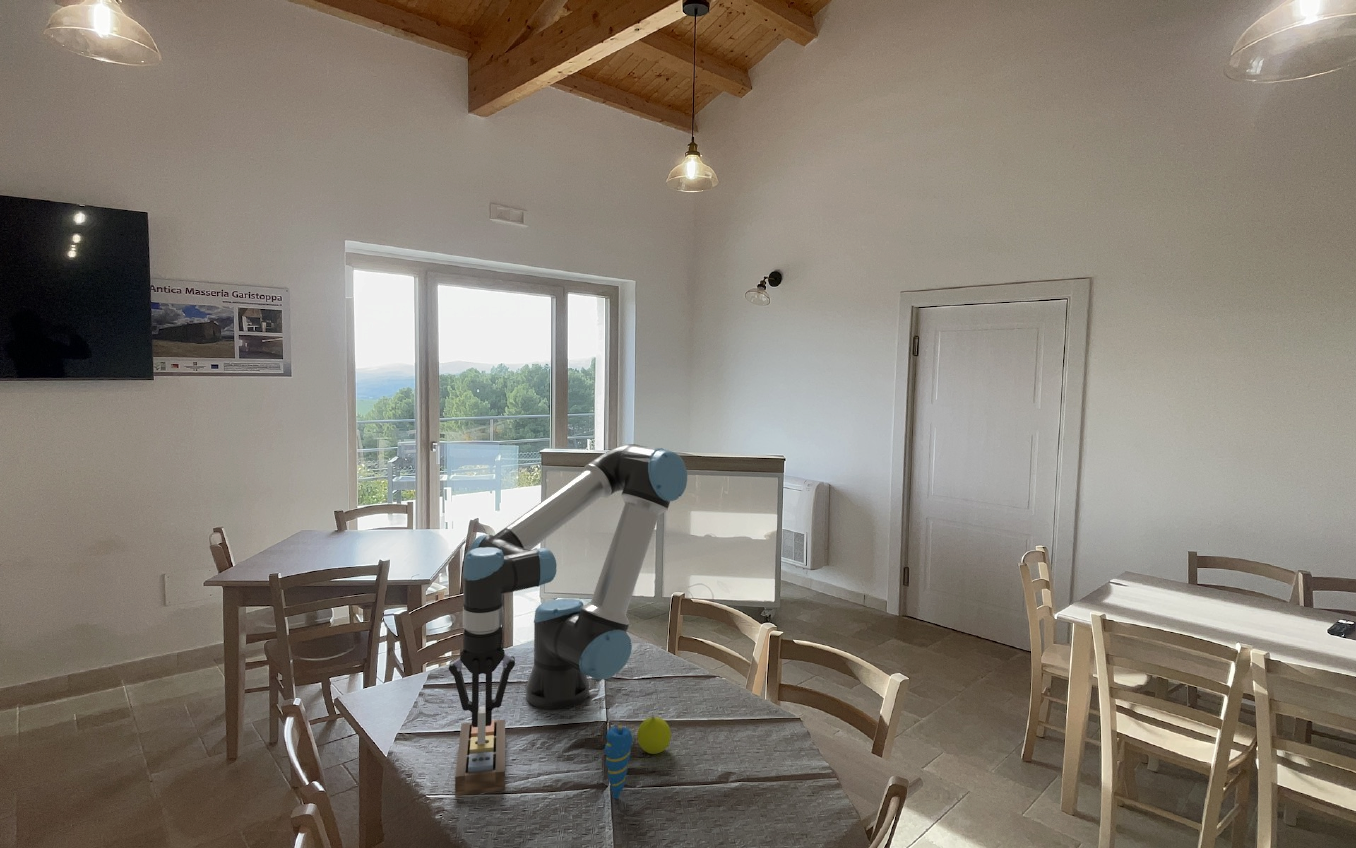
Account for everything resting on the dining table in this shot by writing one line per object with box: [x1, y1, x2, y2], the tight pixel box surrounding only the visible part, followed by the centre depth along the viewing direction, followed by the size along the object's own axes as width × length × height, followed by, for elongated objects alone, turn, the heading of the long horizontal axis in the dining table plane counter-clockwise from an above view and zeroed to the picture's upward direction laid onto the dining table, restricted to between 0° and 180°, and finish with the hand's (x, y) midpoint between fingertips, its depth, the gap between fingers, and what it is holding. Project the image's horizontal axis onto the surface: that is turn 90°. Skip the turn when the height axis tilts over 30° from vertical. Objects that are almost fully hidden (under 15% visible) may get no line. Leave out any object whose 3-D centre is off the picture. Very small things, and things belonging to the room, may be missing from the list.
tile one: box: [471, 719, 495, 737], centre depth 144 cm, size 4×4×3 cm
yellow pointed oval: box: [636, 714, 672, 755], centre depth 145 cm, size 7×7×10 cm
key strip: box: [454, 719, 506, 797], centre depth 138 cm, size 9×19×4 cm, turn 14°
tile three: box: [468, 752, 493, 773], centre depth 132 cm, size 4×4×3 cm
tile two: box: [470, 735, 494, 754], centre depth 138 cm, size 4×4×3 cm
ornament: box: [604, 724, 634, 800], centre depth 128 cm, size 5×5×15 cm
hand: (481, 740), depth 138 cm, fingers closed
